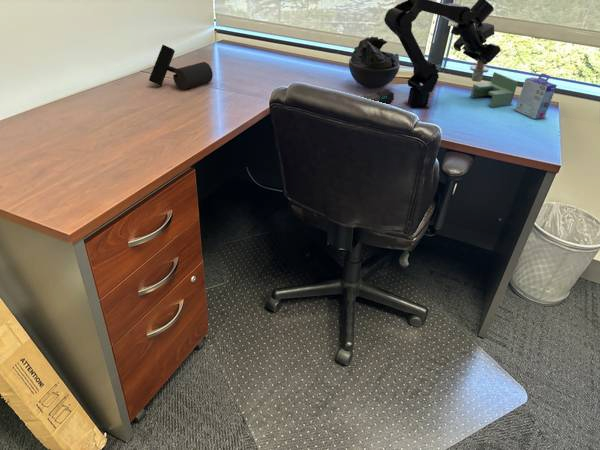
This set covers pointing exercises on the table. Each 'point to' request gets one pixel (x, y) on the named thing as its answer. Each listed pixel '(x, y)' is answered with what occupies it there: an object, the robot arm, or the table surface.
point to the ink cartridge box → (535, 97)
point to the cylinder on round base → (478, 71)
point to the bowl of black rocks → (373, 64)
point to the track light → (180, 71)
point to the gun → (382, 96)
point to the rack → (496, 90)
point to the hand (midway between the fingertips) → (483, 62)
